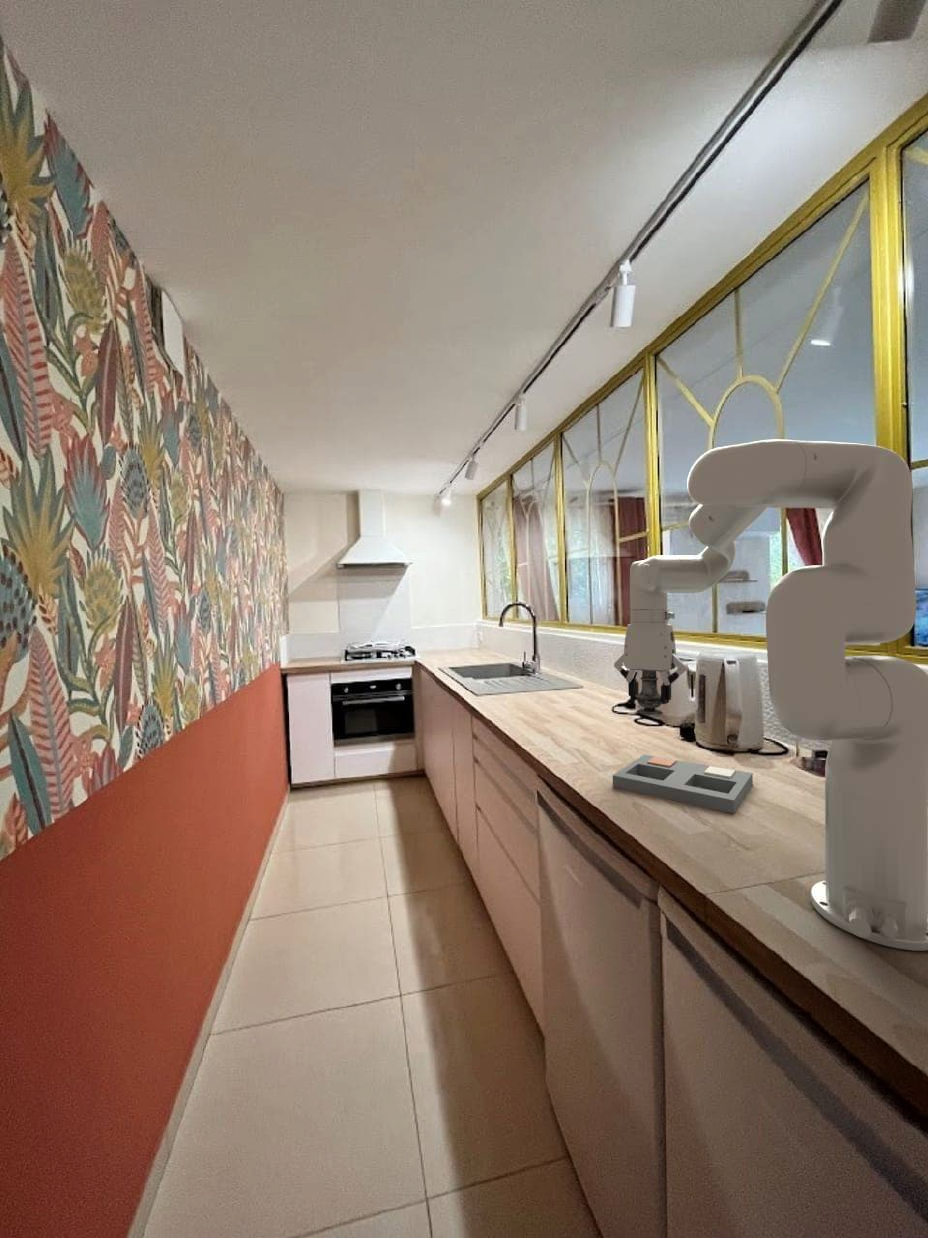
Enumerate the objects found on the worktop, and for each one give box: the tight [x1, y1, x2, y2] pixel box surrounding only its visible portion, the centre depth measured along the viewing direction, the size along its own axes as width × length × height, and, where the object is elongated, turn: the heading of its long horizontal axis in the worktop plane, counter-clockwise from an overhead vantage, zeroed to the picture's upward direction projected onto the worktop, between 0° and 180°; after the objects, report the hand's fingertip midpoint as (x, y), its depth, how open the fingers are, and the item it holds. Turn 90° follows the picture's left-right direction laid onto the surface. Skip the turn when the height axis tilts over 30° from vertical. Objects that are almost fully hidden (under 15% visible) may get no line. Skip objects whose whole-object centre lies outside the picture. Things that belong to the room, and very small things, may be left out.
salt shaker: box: [635, 670, 664, 716], centre depth 106 cm, size 6×6×12 cm
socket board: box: [612, 754, 754, 815], centre depth 105 cm, size 19×23×3 cm
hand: (649, 700), depth 106 cm, fingers closed on salt shaker, 5 cm apart
